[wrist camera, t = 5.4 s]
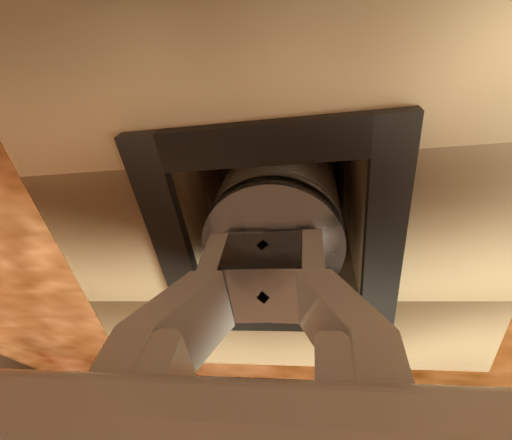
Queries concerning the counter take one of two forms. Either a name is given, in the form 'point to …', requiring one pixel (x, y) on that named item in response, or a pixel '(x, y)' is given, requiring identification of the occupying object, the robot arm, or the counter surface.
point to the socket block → (274, 149)
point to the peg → (281, 204)
